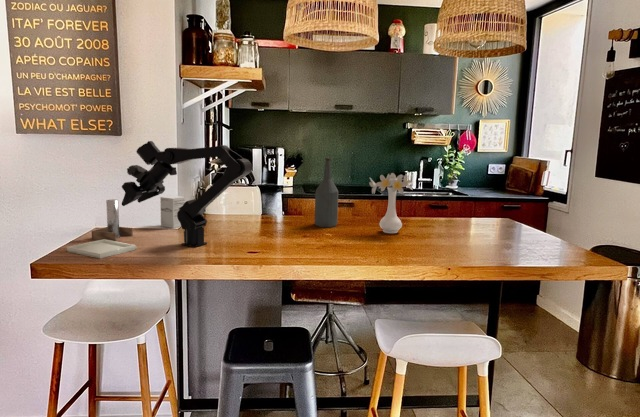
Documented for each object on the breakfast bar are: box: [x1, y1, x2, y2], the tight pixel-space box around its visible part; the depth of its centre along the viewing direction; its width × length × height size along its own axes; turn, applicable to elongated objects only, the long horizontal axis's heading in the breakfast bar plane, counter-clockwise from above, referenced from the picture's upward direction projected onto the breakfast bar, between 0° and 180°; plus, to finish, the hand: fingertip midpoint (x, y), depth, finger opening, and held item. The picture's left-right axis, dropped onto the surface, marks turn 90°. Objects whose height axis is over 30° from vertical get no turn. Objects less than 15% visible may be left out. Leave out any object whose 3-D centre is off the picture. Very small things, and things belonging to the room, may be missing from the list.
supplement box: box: [160, 195, 186, 229], centre depth 197 cm, size 7×7×13 cm
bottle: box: [314, 157, 339, 228], centre depth 207 cm, size 10×10×30 cm
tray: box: [66, 239, 137, 260], centre depth 156 cm, size 16×14×2 cm
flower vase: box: [368, 172, 413, 234], centre depth 196 cm, size 13×18×25 cm
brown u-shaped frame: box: [91, 226, 134, 241], centre depth 175 cm, size 10×10×3 cm
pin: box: [105, 199, 121, 239], centre depth 174 cm, size 4×4×14 cm
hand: (130, 203), depth 171 cm, fingers open, 9 cm apart
